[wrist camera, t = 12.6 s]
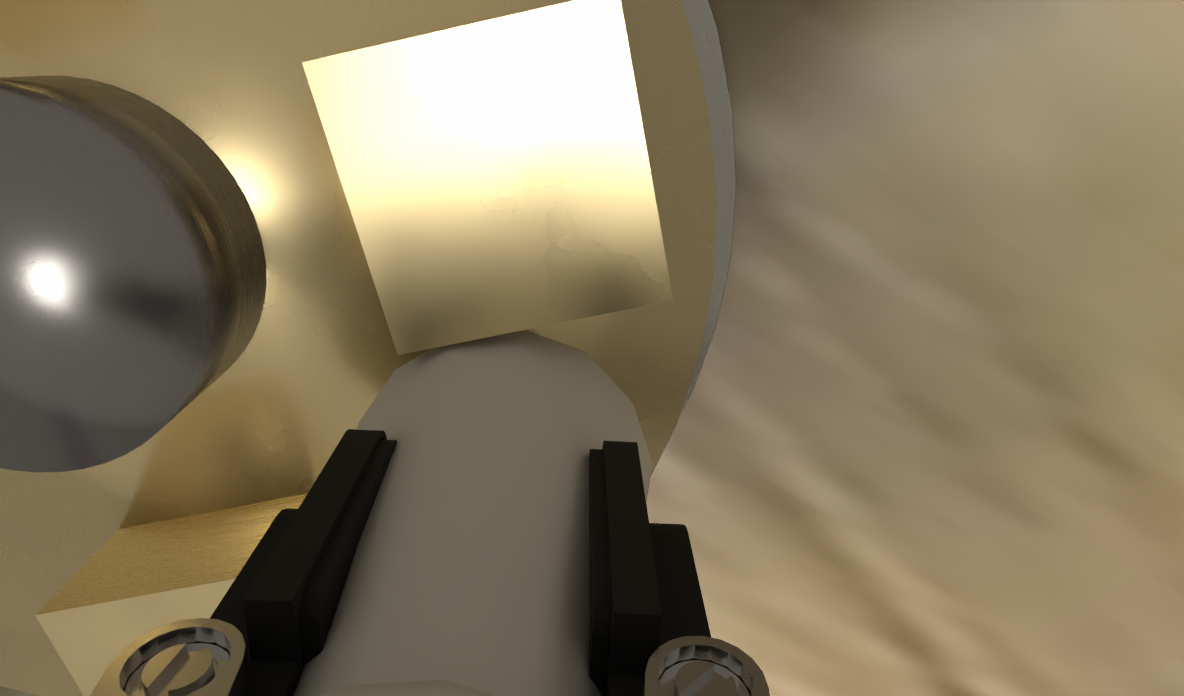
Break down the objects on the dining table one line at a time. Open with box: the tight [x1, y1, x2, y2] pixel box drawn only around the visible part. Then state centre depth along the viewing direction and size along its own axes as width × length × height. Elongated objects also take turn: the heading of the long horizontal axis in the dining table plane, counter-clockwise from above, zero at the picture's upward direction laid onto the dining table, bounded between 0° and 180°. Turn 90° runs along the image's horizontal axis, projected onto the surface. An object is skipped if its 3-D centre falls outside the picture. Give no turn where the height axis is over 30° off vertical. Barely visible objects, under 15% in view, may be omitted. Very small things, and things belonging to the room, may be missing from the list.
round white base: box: [680, 0, 736, 414], centre depth 19 cm, size 28×28×1 cm
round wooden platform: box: [0, 0, 717, 696], centre depth 16 cm, size 26×26×6 cm
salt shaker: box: [293, 330, 652, 696], centre depth 11 cm, size 6×6×13 cm
